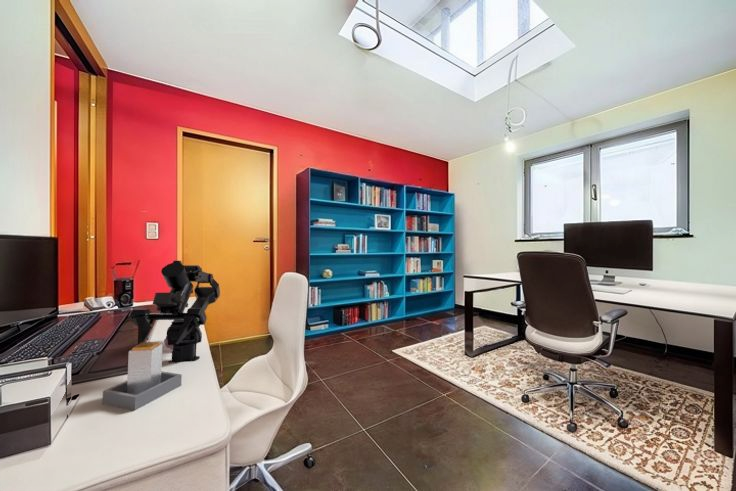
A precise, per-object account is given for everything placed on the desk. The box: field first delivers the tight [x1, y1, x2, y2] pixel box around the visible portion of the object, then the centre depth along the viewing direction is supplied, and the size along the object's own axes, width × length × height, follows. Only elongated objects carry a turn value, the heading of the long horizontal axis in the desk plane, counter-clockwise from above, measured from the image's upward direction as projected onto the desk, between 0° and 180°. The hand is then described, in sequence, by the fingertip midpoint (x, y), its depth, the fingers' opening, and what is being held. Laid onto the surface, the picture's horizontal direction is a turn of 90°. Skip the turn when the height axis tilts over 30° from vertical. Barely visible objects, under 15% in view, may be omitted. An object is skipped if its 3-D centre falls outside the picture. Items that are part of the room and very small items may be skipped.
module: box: [126, 341, 164, 395], centre depth 70 cm, size 5×5×13 cm
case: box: [101, 370, 183, 411], centre depth 70 cm, size 12×10×4 cm
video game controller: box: [163, 335, 173, 351], centre depth 104 cm, size 10×5×7 cm, turn 24°
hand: (158, 343), depth 75 cm, fingers open, 9 cm apart
